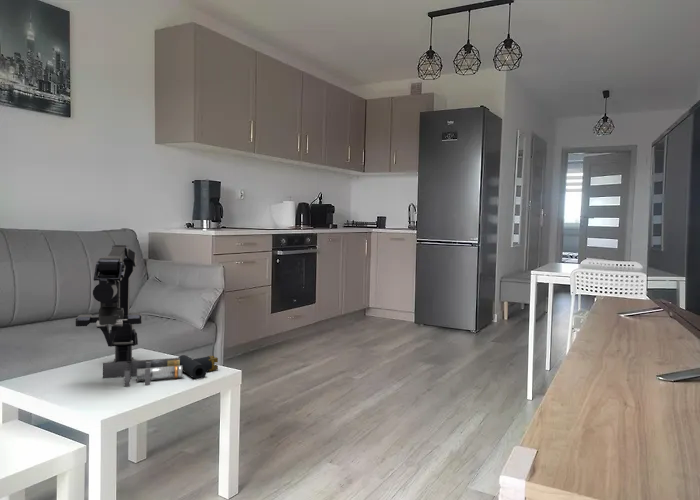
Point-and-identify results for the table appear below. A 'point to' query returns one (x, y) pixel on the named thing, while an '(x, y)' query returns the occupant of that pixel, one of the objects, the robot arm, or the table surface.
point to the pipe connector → (198, 365)
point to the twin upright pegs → (128, 374)
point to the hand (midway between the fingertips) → (109, 346)
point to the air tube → (161, 373)
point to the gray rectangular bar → (135, 366)
